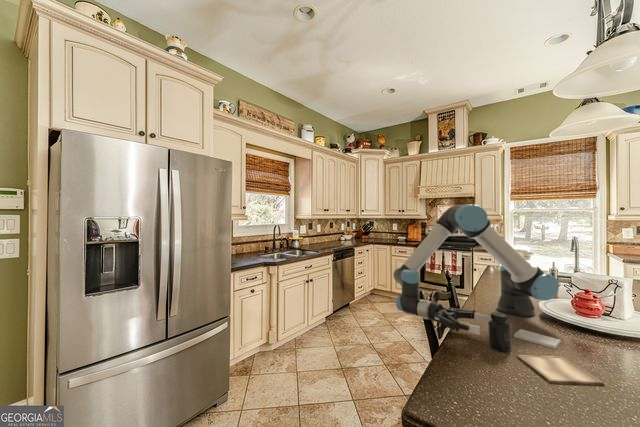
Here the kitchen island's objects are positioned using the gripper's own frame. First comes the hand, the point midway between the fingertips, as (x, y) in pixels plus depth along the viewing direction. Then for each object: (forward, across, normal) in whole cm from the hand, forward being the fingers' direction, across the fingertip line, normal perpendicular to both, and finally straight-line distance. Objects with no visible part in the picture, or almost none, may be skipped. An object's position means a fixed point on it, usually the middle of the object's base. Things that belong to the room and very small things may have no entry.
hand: (486, 325), depth 97 cm
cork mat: (+19, +2, -7) cm, 21 cm away
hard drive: (+11, -19, -8) cm, 23 cm away
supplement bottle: (+4, 0, -7) cm, 8 cm away
